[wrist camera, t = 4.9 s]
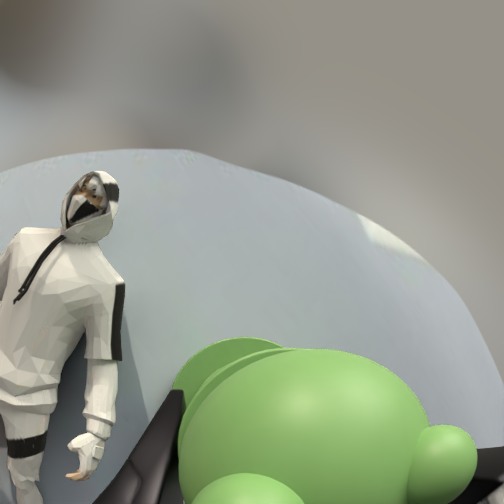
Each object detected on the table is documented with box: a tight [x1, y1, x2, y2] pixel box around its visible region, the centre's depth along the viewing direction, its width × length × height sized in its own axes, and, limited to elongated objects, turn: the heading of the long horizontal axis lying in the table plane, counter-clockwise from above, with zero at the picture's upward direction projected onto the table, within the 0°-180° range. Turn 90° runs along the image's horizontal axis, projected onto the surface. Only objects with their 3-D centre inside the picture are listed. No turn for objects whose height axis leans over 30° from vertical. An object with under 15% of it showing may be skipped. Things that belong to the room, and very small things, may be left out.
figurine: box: [0, 171, 125, 504], centre depth 10 cm, size 13×6×30 cm
